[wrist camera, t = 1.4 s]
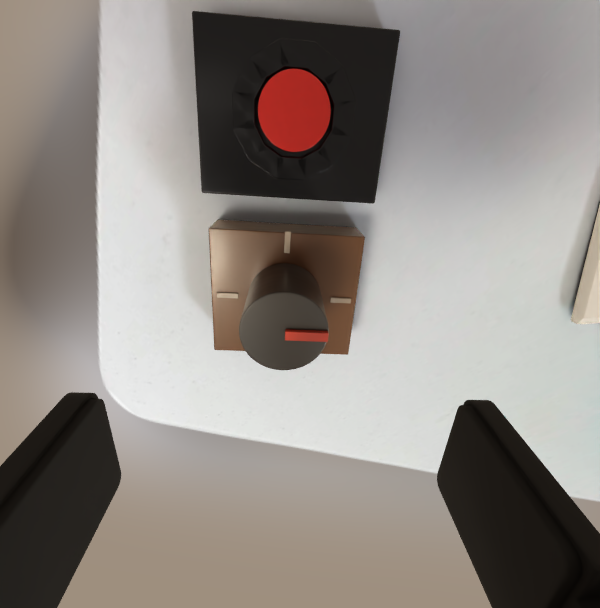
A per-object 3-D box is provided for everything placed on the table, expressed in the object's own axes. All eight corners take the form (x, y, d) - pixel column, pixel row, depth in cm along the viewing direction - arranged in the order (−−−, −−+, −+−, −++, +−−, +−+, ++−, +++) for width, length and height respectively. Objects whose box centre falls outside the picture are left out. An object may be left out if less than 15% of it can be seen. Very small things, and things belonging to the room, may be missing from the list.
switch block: (209, 189, 23) (194, 196, 19) (201, 24, 19) (181, -5, 16) (367, 199, 24) (382, 207, 20) (389, 41, 20) (412, 17, 16)
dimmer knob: (248, 328, 24) (238, 372, 19) (248, 261, 22) (237, 291, 17) (317, 330, 24) (325, 375, 20) (324, 264, 22) (334, 296, 18)
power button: (260, 149, 19) (257, 149, 17) (260, 72, 17) (258, 65, 16) (323, 154, 19) (327, 154, 17) (330, 78, 18) (334, 71, 16)
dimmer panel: (221, 331, 28) (213, 352, 25) (217, 217, 24) (207, 226, 21) (342, 336, 28) (348, 357, 25) (356, 225, 24) (366, 236, 22)
